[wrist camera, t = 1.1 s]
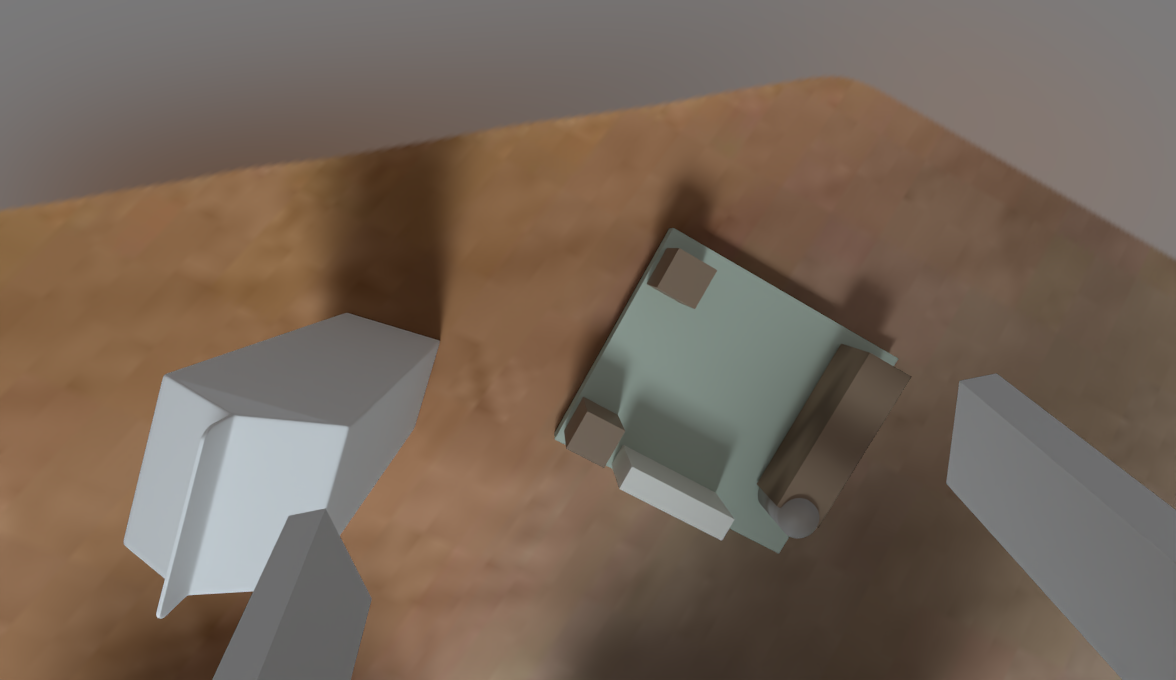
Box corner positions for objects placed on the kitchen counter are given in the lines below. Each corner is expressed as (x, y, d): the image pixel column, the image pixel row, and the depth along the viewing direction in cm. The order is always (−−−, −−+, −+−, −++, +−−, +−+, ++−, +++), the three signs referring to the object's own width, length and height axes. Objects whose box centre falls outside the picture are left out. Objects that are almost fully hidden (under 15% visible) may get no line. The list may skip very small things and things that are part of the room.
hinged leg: (785, 519, 41) (810, 546, 37) (747, 499, 40) (768, 525, 37) (879, 365, 40) (914, 377, 36) (841, 343, 39) (872, 353, 36)
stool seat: (888, 355, 41) (937, 370, 36) (772, 545, 43) (804, 585, 37) (669, 228, 39) (688, 225, 34) (554, 433, 40) (556, 460, 35)
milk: (321, 401, 39) (38, 600, 17) (346, 310, 38) (83, 395, 16) (416, 429, 40) (259, 653, 18) (443, 339, 39) (313, 458, 17)
